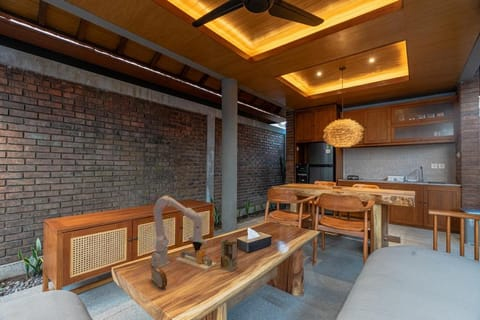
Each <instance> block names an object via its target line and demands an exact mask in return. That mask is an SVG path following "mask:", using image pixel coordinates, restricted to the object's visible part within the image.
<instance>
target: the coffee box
mask: <svg viewBox="0 0 480 320" xmlns="http://www.w3.org/2000/svg"><path fill="white" fill-rule="evenodd" d="M238 243H239V242H238V241H234V240H233V241H232V240H228V239H225V240H223V241H222V242H220V269H224V270H227V271H229V272H233V271H235V270H236V269H238Z"/></svg>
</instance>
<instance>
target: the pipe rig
mask: <svg viewBox="0 0 480 320" xmlns="http://www.w3.org/2000/svg"><path fill="white" fill-rule="evenodd" d="M202 260H203V261H204V262H202V263H198V262H196V253H195V252H190V251H187V250H184V249H183V250H182V251H181V252H180V256H179V257H177V258H175V261H176V262H180V263H183V264H187V265H188V266H192V267H195V268H197V269H200V270H203V271H208V270H210V269H212V268H213V267H215V266H217V262H214V261H213V259H211V258H210V257H207V256H206V257H204V256H202Z"/></svg>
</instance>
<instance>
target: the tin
mask: <svg viewBox="0 0 480 320" xmlns="http://www.w3.org/2000/svg"><path fill="white" fill-rule="evenodd" d="M150 273H151V280H152V282H153V283H154V284H155V285H156V286H157V287H158V288H159V289H164V288H167V285H168V278H167V277H168V276H167V274H166V272H165V271H164V270H163V269H162V268H161V267H160V268H159V267H158V266H156V267H154V266H153V267H152V268H151V272H150Z"/></svg>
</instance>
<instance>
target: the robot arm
mask: <svg viewBox="0 0 480 320" xmlns="http://www.w3.org/2000/svg"><path fill="white" fill-rule="evenodd" d="M155 202H156V203H155V204H154V207H153V209H152V212H153V219H154V226H155V233H156V239H155V247H154V248H155V251H153V253H152V254H151V263H150V266H152V267H153V268H154V267H156V266H158V267H159V268H160V269H161V268H162V267H165V266H167V265H169V264H170V263H171V262H170V261H169V260H168V253H169V252H168V245H169V239H167V235H166V233H165V226H164V218H163V212H162V211H163V210H164V209H165V207H166V206H167V207H173V208H175V209H177V210H178V211H180V212H182V213H183V216H184V217H186V218H188V219H189V220H191V221H192V223H193V231H192V232H193V233H192V234H193V235H192V236H190V237H188V241H191V242H192V243H191V244H192V246H193V248H194V254H196V251H198V250H200V249H201V247H202V246H203V245H207V243H208V241H207V240H206V239H204V238H203V215H202V214H201V213H200V212H198V211H197V212H196V211H195V210H193V208H192V207H185V206H184V205H183V204H181V203H179V202H178V201H177V200H175V199H174V198H173V197H170V196H169V195H162V197H160V198H158V199H157V201H155Z"/></svg>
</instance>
